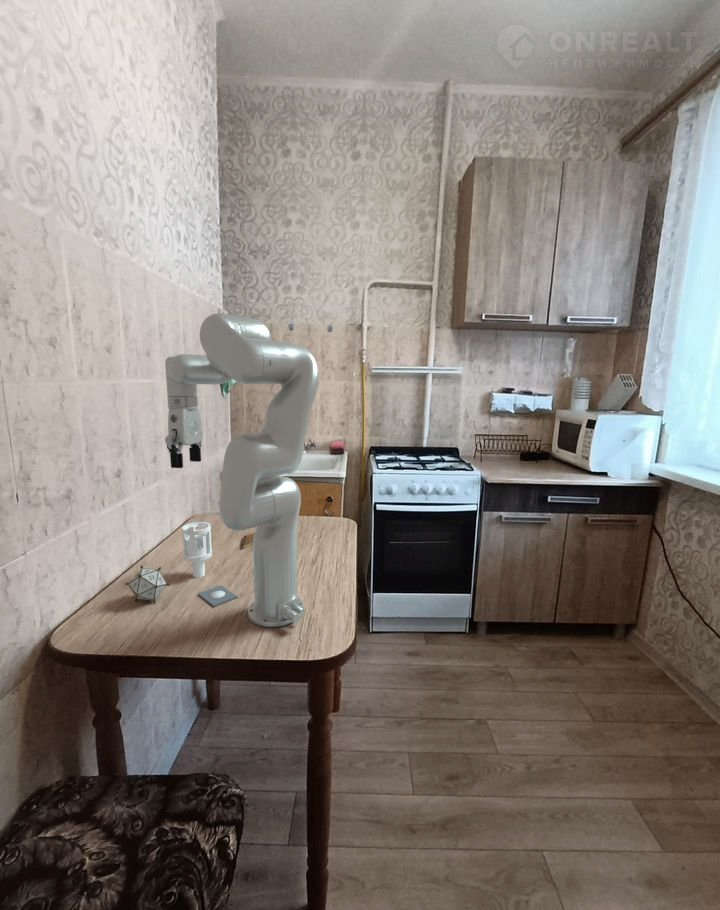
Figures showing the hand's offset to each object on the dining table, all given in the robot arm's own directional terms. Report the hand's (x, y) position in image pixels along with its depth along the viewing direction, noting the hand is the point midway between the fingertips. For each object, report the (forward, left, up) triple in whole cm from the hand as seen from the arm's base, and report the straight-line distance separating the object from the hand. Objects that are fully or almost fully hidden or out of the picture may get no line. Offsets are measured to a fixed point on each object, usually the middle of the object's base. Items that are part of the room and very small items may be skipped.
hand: (186, 464), depth 116 cm
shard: (0, -21, -30) cm, 37 cm away
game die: (-14, +17, -29) cm, 36 cm away
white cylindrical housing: (-10, +3, -29) cm, 31 cm away
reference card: (-24, +5, -29) cm, 38 cm away
